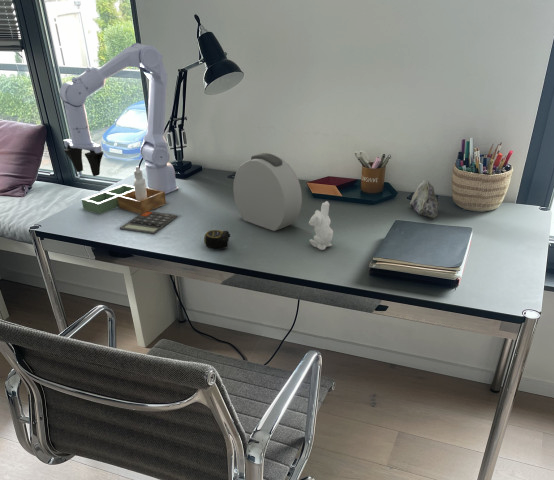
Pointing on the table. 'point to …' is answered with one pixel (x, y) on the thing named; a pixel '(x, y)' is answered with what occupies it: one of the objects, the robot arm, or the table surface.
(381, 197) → the table surface
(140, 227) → the calculator
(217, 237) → the tape measure
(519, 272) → the table surface
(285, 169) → the alarm clock
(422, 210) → the mineral rock
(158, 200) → the open wooden box
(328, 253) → the table surface
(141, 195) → the eye dropper bottle
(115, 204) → the green divided tray
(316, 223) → the white bunny figurine
